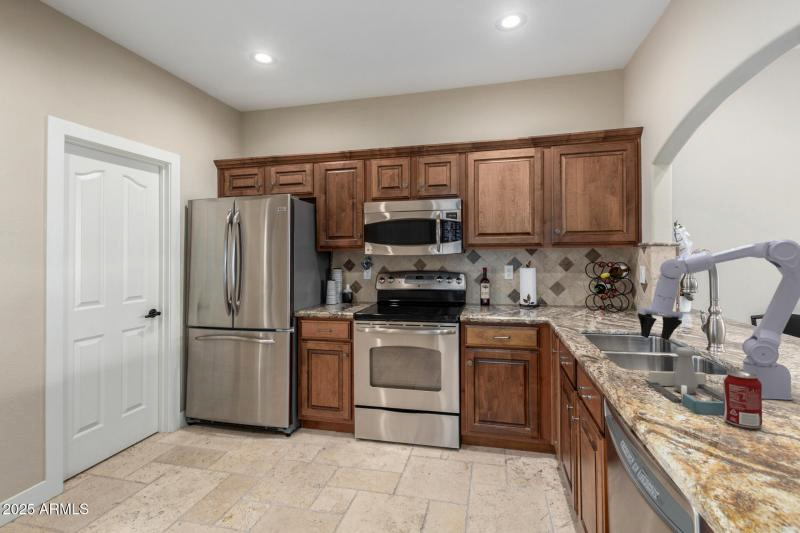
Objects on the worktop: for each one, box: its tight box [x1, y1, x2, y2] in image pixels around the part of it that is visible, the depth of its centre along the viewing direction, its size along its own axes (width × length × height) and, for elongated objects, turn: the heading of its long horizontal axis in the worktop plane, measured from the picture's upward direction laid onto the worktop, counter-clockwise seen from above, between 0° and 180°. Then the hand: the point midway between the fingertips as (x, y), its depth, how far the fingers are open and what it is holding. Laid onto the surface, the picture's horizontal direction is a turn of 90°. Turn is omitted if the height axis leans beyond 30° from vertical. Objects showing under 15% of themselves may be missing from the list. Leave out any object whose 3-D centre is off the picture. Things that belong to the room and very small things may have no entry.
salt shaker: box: [673, 346, 698, 395], centre depth 114 cm, size 6×6×13 cm
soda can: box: [722, 369, 763, 430], centre depth 91 cm, size 7×7×12 cm
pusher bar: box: [648, 354, 707, 388], centre depth 122 cm, size 15×8×8 cm, turn 79°
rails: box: [645, 379, 724, 404], centre depth 112 cm, size 15×17×1 cm
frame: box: [680, 385, 724, 416], centre depth 100 cm, size 12×7×5 cm, turn 79°
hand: (654, 338), depth 124 cm, fingers open, 7 cm apart
